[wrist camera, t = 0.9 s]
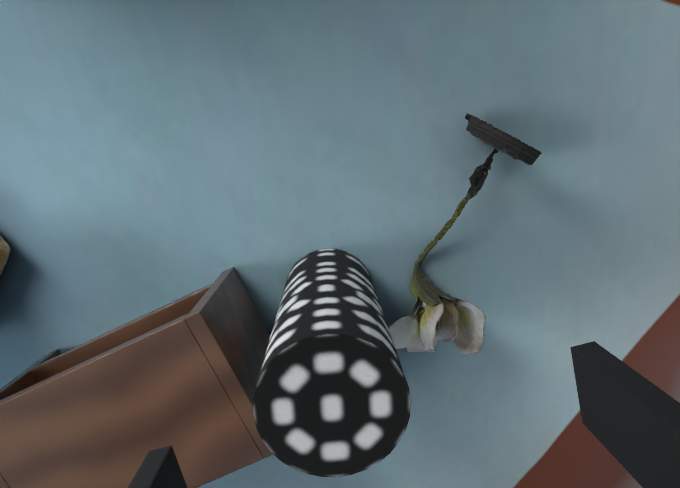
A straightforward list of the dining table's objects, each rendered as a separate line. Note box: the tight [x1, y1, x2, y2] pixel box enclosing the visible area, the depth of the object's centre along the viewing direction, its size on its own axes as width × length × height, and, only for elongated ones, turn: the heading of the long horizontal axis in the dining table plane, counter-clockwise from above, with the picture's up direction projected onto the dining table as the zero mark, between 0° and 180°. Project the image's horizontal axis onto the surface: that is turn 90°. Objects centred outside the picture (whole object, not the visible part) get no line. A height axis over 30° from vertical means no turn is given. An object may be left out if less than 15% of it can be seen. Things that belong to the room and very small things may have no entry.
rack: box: [0, 267, 273, 488], centre depth 39 cm, size 12×20×12 cm, turn 115°
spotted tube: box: [253, 249, 411, 477], centre depth 34 cm, size 8×8×20 cm
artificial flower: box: [388, 113, 542, 354], centre depth 40 cm, size 9×22×10 cm, turn 156°
